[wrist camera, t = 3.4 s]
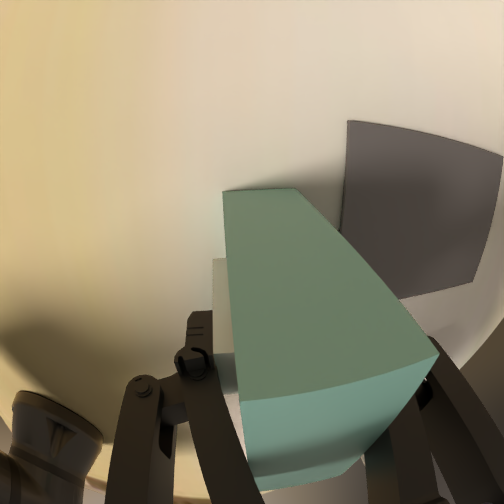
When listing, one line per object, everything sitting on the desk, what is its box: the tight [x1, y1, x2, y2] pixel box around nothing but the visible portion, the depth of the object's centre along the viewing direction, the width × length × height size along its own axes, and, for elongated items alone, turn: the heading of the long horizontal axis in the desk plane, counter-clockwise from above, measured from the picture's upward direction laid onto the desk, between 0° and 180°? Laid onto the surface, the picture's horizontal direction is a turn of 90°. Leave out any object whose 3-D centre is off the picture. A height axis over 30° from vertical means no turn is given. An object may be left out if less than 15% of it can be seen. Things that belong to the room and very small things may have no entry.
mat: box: [340, 121, 503, 299], centre depth 17 cm, size 17×13×1 cm
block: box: [222, 188, 440, 491], centre depth 11 cm, size 4×9×12 cm, turn 1°
